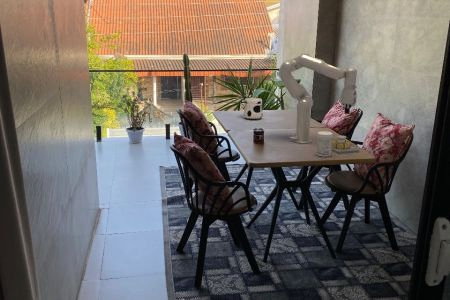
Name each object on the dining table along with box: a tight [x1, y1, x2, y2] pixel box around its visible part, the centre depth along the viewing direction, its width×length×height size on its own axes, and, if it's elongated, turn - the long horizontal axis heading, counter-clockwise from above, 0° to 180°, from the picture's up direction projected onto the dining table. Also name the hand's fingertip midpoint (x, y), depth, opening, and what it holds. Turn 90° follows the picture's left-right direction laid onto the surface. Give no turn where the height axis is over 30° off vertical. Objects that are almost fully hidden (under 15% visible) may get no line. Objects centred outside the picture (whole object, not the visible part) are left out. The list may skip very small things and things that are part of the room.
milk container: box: [243, 97, 264, 121], centre depth 395 cm, size 17×17×18 cm
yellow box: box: [332, 138, 351, 149], centre depth 298 cm, size 17×12×5 cm
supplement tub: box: [315, 131, 333, 158], centre depth 281 cm, size 10×10×15 cm
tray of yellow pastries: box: [332, 135, 360, 155], centre depth 296 cm, size 16×20×9 cm
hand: (346, 113), depth 301 cm, fingers closed
